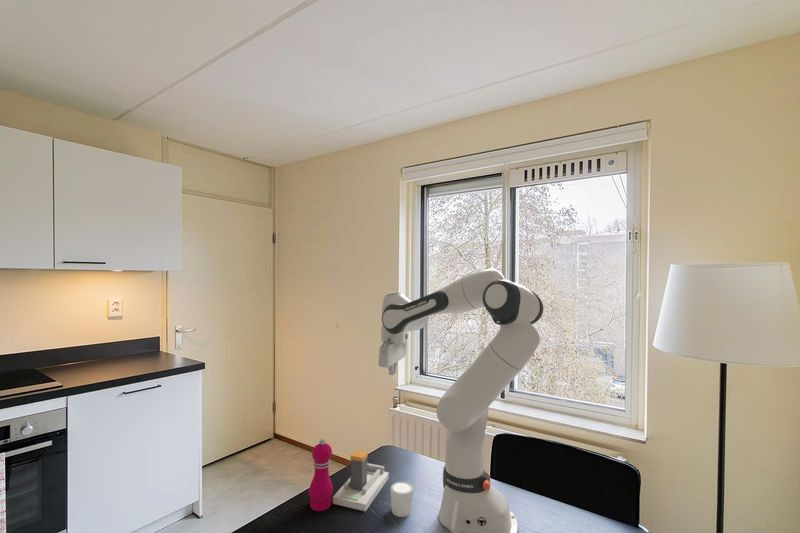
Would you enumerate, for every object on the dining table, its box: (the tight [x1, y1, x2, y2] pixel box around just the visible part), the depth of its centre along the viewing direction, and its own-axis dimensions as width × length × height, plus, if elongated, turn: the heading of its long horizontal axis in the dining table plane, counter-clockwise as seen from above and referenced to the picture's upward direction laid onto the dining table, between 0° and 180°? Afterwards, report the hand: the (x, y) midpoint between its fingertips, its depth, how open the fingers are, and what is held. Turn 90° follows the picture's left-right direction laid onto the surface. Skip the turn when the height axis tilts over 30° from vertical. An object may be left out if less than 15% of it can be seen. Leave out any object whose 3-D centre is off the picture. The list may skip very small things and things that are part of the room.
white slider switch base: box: [332, 462, 390, 512], centre depth 125 cm, size 11×20×4 cm, turn 161°
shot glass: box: [390, 481, 414, 518], centre depth 115 cm, size 7×7×7 cm
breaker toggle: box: [349, 450, 369, 490], centre depth 124 cm, size 4×4×10 cm
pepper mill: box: [308, 438, 334, 512], centre depth 117 cm, size 7×7×20 cm
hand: (392, 374), depth 141 cm, fingers closed
